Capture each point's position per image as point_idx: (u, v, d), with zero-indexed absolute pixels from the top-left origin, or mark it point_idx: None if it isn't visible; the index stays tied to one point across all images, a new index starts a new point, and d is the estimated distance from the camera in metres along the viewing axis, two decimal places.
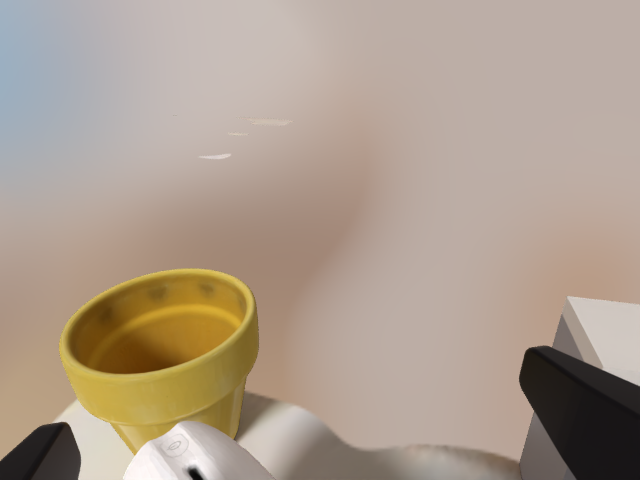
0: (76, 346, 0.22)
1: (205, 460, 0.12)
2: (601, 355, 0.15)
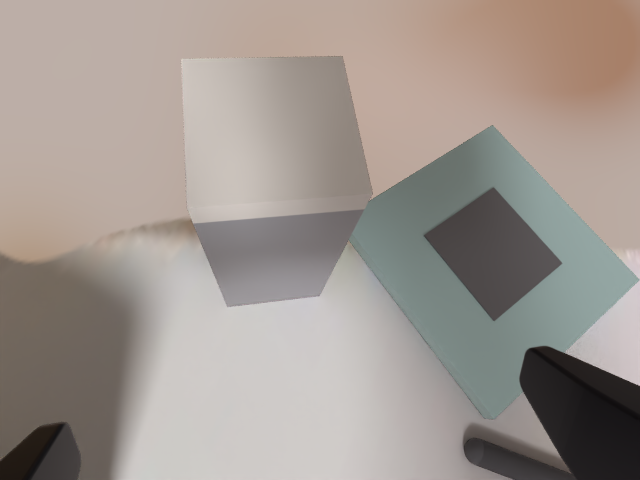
0: None
1: None
2: (191, 185, 0.11)
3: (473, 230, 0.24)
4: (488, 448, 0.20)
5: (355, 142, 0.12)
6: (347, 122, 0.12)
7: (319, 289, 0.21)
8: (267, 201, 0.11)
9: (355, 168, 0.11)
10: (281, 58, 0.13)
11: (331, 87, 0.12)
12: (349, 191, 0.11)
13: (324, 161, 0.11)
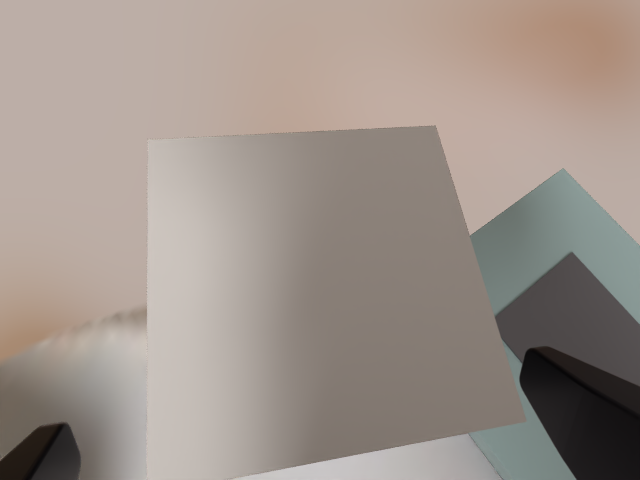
0: None
1: None
2: (158, 433, 0.05)
3: (552, 313, 0.18)
4: None
5: (479, 301, 0.06)
6: (459, 259, 0.06)
7: None
8: (319, 459, 0.05)
9: (486, 363, 0.06)
10: (331, 134, 0.07)
11: (422, 187, 0.07)
12: (480, 418, 0.06)
13: (426, 351, 0.06)
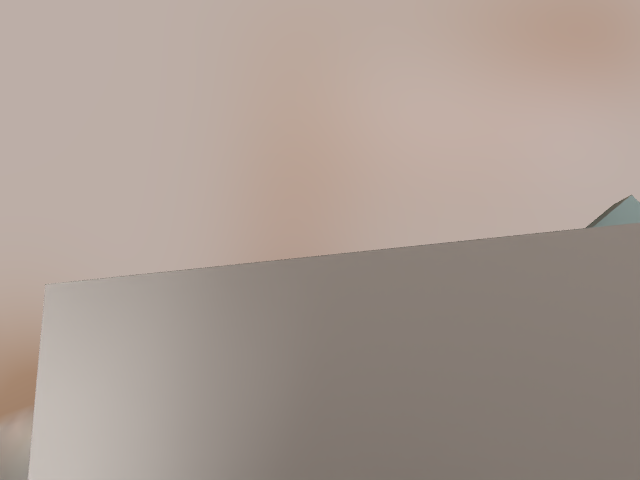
0: None
1: None
2: None
3: None
4: None
5: None
6: None
7: None
8: None
9: None
10: (445, 250, 0.03)
11: None
12: None
13: None
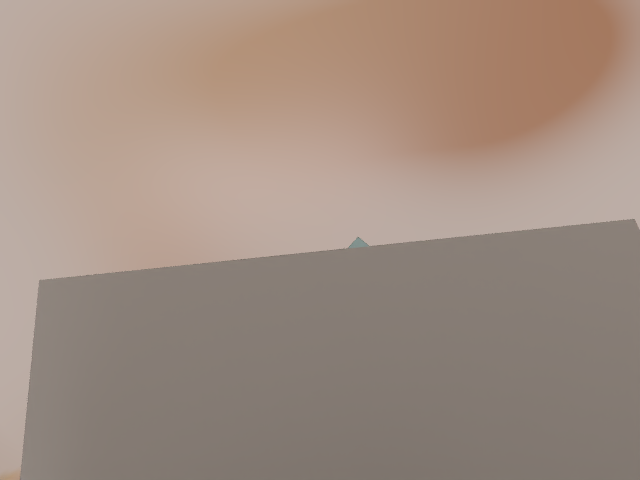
0: None
1: None
2: None
3: None
4: None
5: None
6: None
7: None
8: None
9: None
10: (438, 247, 0.03)
11: None
12: None
13: None
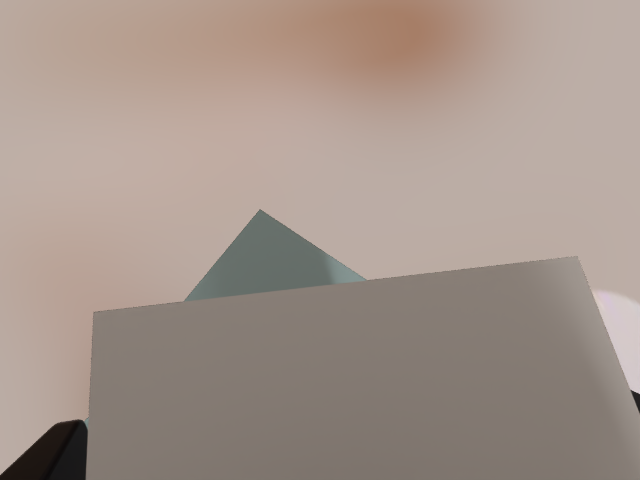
0: None
1: None
2: None
3: None
4: None
5: None
6: None
7: None
8: None
9: None
10: (412, 282, 0.04)
11: (573, 381, 0.04)
12: None
13: None
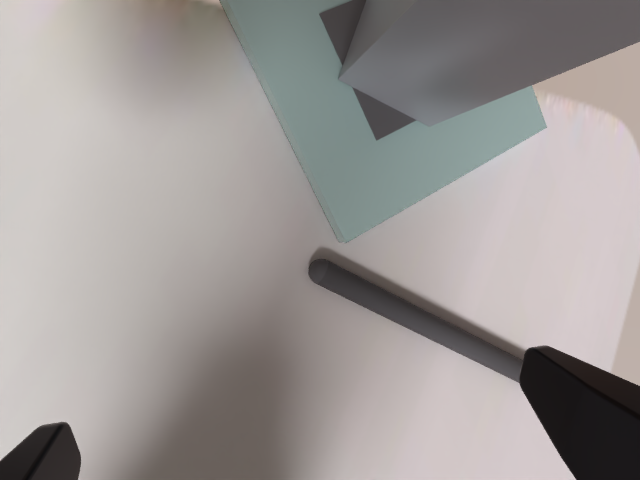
0: None
1: None
2: None
3: None
4: (332, 269, 0.18)
5: None
6: None
7: (444, 117, 0.18)
8: None
9: None
10: None
11: None
12: None
13: None
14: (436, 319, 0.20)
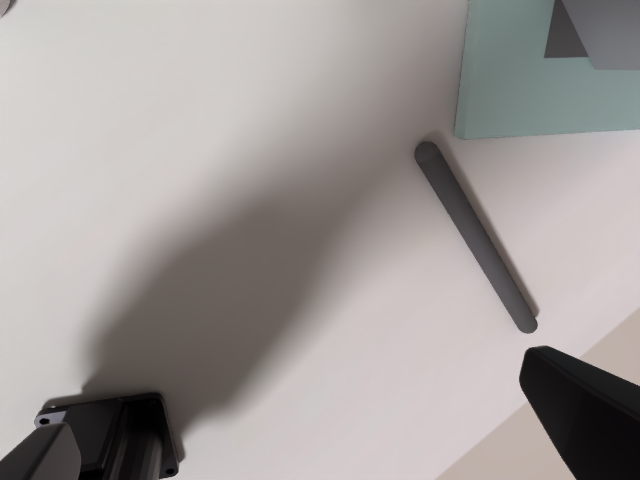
0: None
1: None
2: None
3: None
4: (438, 157, 0.20)
5: None
6: None
7: (621, 66, 0.18)
8: None
9: None
10: None
11: None
12: None
13: None
14: (490, 242, 0.22)
